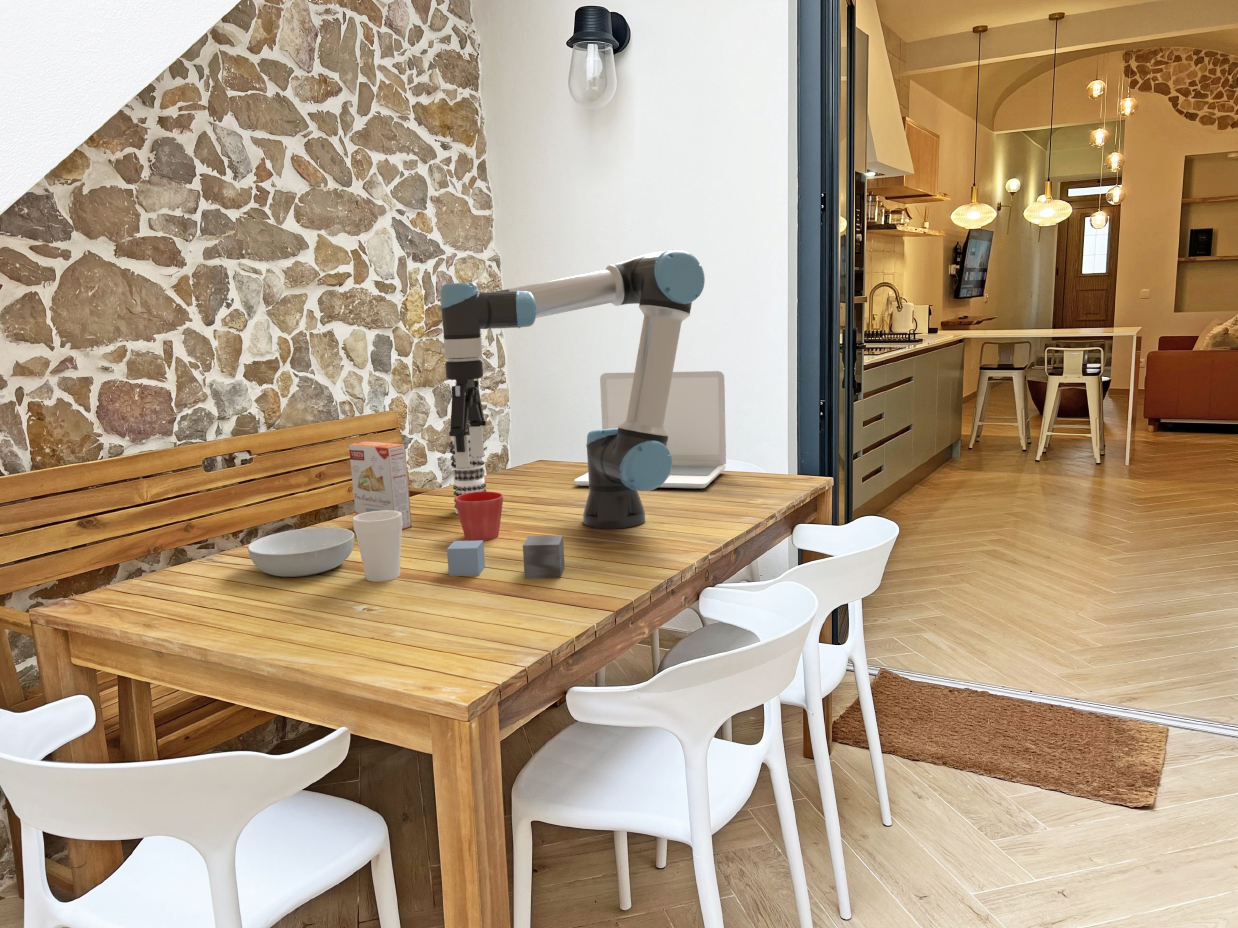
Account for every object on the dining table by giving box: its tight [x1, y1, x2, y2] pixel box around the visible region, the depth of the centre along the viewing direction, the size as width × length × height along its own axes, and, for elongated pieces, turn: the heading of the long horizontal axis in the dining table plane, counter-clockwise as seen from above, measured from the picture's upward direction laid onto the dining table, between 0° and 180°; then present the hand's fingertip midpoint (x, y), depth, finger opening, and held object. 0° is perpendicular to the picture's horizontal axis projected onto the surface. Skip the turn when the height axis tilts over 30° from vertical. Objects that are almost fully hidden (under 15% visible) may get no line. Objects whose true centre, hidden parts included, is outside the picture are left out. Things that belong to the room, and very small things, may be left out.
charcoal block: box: [522, 535, 566, 580], centre depth 181 cm, size 7×7×7 cm
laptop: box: [574, 370, 727, 489], centre depth 274 cm, size 40×31×31 cm
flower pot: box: [454, 491, 504, 541], centre depth 212 cm, size 11×11×10 cm
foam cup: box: [352, 510, 403, 583], centre depth 181 cm, size 10×9×13 cm
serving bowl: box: [247, 526, 356, 578], centre depth 190 cm, size 21×21×7 cm
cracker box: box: [348, 440, 413, 531], centre depth 225 cm, size 14×6×21 cm, turn 57°
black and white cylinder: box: [448, 418, 487, 515], centre depth 238 cm, size 9×9×25 cm
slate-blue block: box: [446, 540, 486, 577], centre depth 184 cm, size 6×6×6 cm
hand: (470, 462), depth 192 cm, fingers open, 13 cm apart
